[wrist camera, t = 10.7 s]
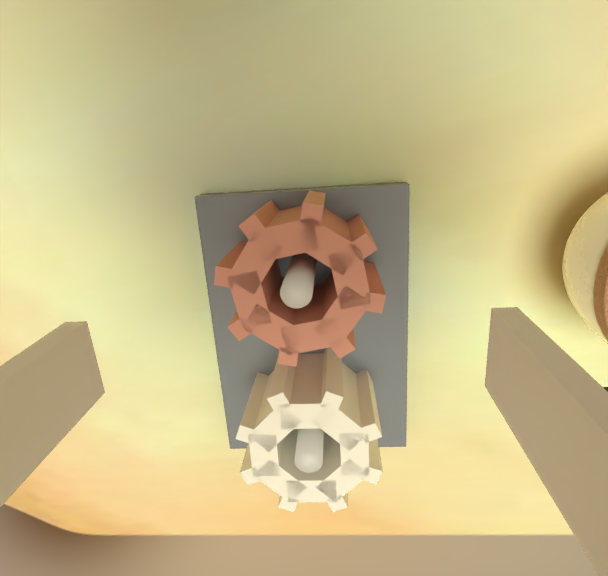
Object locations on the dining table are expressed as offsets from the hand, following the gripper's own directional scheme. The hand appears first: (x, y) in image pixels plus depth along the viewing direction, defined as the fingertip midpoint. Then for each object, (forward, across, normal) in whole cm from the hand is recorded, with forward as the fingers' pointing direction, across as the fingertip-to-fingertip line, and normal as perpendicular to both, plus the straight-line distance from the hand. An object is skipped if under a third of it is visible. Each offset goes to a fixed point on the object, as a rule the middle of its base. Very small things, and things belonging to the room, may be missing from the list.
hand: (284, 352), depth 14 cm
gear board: (+15, 0, -6) cm, 16 cm away
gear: (+14, 0, -1) cm, 14 cm away
